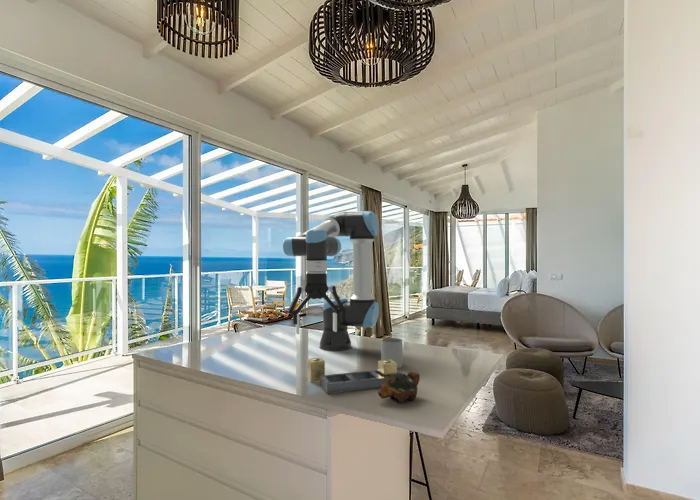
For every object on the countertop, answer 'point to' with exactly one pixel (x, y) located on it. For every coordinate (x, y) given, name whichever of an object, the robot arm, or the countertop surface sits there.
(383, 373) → the beige framed knobbed block
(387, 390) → the decorative turtle
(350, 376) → the rack
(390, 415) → the countertop surface
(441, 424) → the countertop surface
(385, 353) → the cup
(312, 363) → the cube with silver knob
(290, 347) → the countertop surface
